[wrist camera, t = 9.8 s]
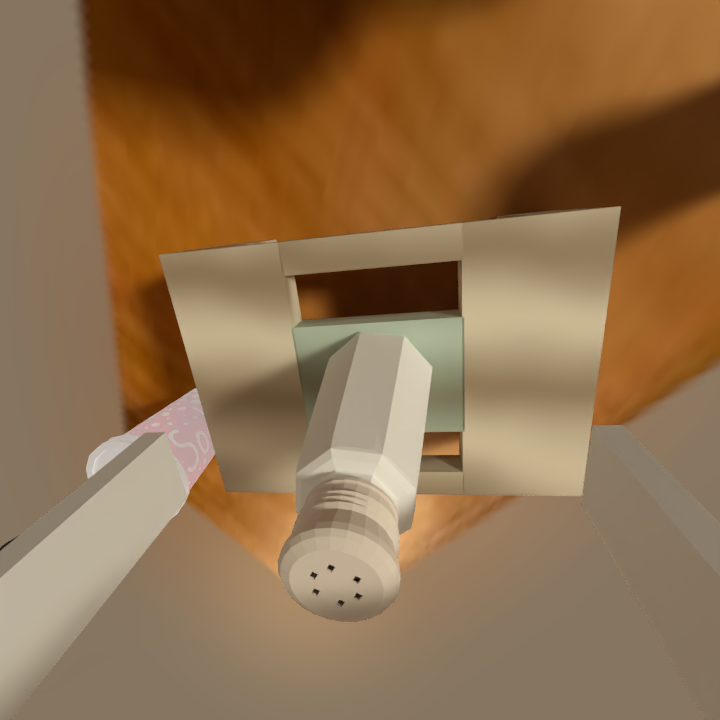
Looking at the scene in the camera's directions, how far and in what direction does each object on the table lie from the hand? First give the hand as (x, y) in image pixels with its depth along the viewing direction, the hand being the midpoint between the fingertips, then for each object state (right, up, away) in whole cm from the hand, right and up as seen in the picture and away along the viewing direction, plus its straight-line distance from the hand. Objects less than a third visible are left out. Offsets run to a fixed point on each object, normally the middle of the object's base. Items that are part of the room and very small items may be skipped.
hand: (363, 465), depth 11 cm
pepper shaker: (+1, +2, +7) cm, 7 cm away
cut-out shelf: (+2, +5, +14) cm, 15 cm away
